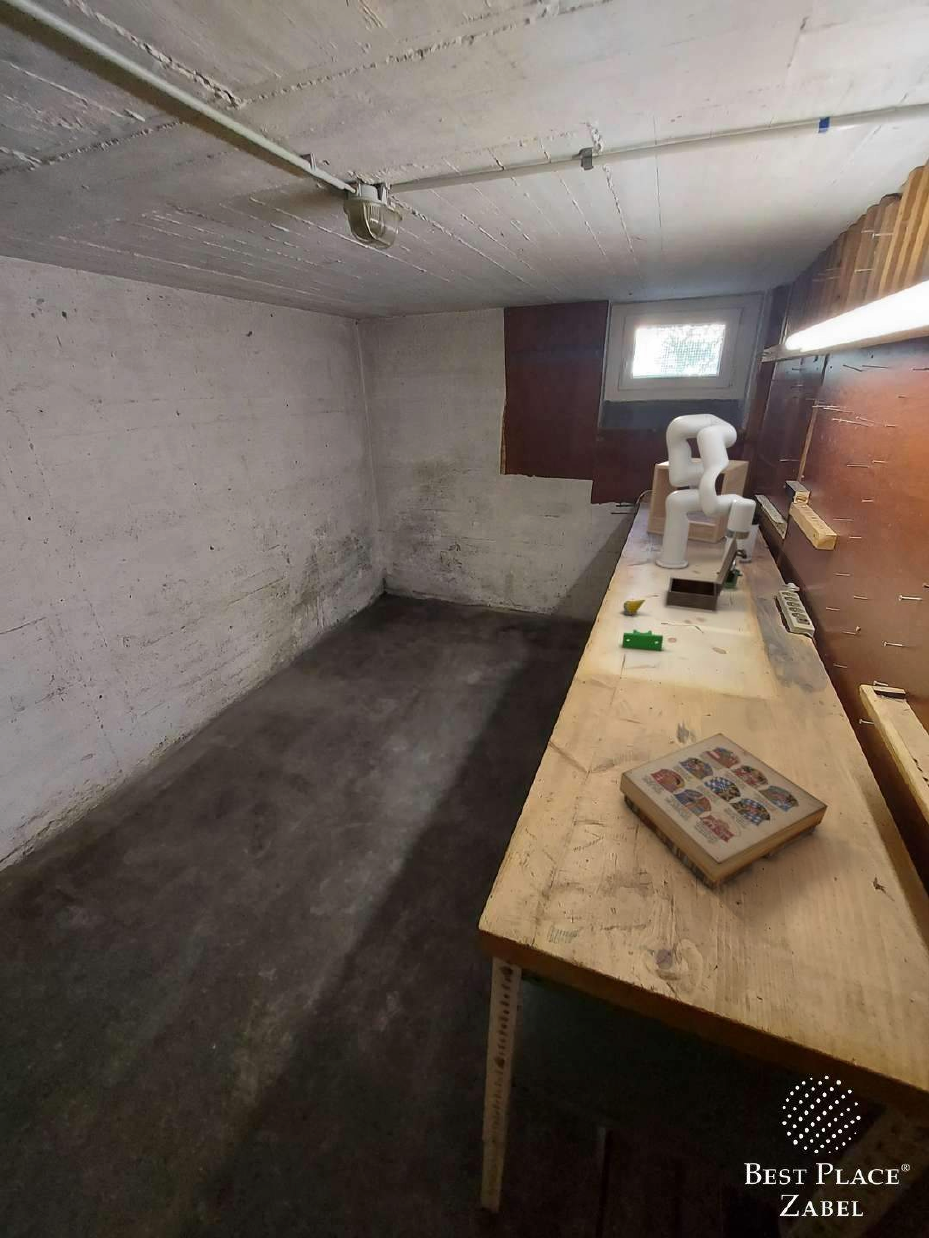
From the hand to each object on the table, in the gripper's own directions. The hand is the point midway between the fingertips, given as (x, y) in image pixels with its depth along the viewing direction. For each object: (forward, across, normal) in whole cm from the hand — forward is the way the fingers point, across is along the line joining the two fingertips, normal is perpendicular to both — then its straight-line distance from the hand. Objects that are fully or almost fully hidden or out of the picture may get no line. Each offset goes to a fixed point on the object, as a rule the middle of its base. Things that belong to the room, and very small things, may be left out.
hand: (727, 577), depth 183 cm
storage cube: (+6, -77, -14) cm, 79 cm away
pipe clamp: (+4, +58, -24) cm, 63 cm away
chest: (+4, +19, -12) cm, 22 cm away
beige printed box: (+2, +118, -6) cm, 118 cm away
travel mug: (+5, -34, +8) cm, 36 cm away
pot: (+4, 0, +1) cm, 4 cm away
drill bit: (+4, +36, -30) cm, 47 cm away
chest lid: (-11, +18, -3) cm, 21 cm away
